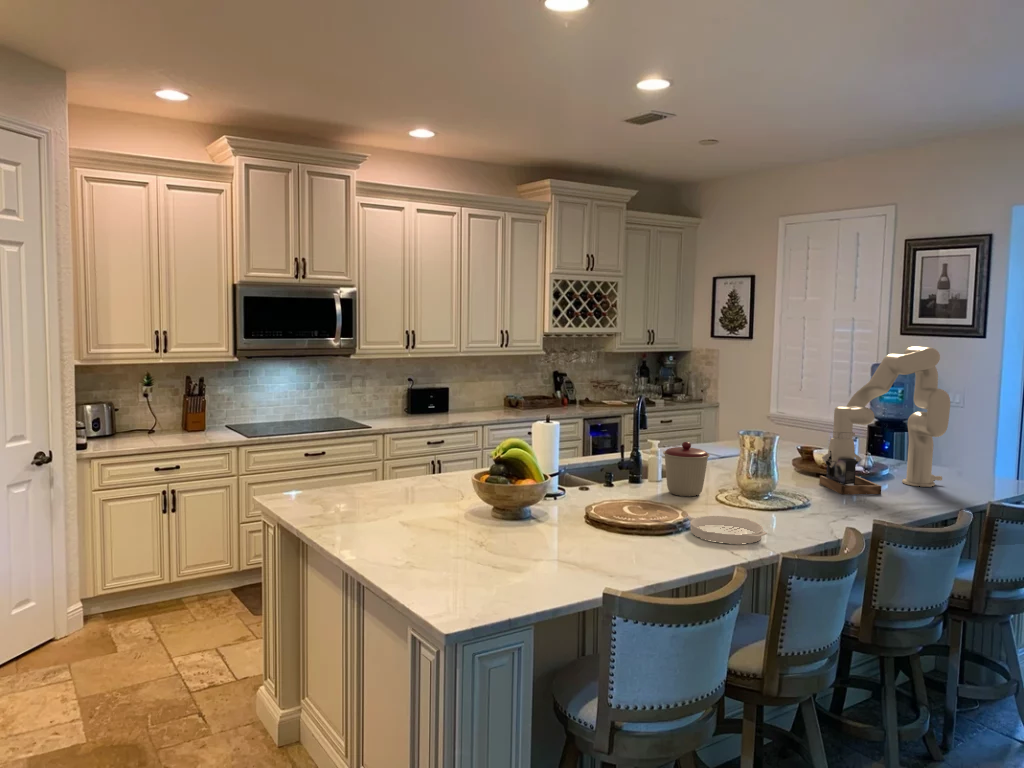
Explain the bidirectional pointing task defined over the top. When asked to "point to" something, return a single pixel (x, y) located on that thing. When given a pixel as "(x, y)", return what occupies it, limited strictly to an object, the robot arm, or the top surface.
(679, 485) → the canister
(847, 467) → the small box
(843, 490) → the wooden u-shaped frame
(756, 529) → the pan
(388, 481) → the top surface
